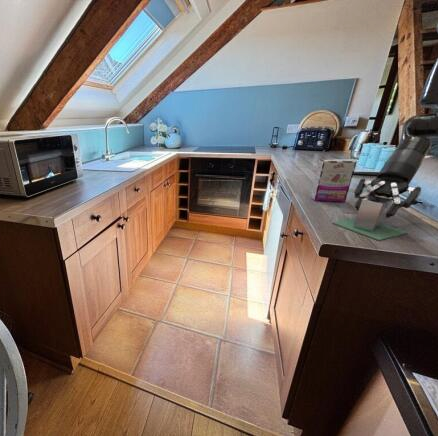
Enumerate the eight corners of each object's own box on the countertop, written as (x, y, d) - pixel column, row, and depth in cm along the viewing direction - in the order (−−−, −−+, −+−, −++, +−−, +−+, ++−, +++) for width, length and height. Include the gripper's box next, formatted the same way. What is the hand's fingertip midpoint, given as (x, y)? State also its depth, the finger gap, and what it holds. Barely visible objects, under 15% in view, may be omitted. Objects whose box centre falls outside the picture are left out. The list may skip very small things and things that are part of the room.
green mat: (359, 217, 83) (359, 216, 83) (407, 233, 72) (408, 232, 71) (332, 223, 79) (332, 222, 79) (378, 241, 68) (379, 239, 67)
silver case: (352, 227, 75) (361, 199, 72) (363, 221, 79) (372, 194, 76) (372, 232, 71) (383, 203, 68) (382, 226, 75) (393, 198, 72)
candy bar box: (339, 199, 102) (351, 159, 95) (345, 202, 97) (358, 161, 91) (309, 197, 104) (319, 158, 98) (313, 201, 100) (324, 160, 93)
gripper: (433, 180, 70) (404, 226, 69) (370, 171, 81) (344, 211, 80) (436, 163, 66) (405, 213, 64) (369, 157, 77) (342, 199, 76)
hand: (371, 212), depth 72 cm, fingers open, 6 cm apart
